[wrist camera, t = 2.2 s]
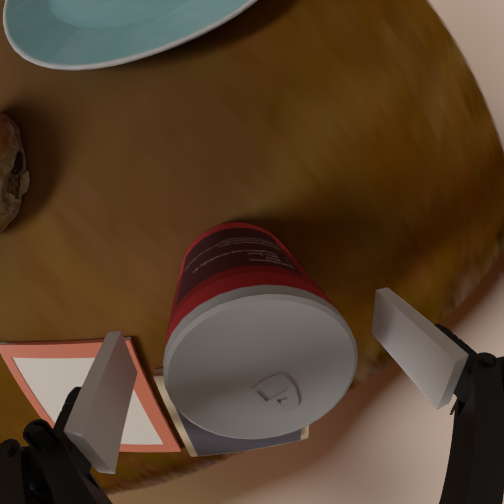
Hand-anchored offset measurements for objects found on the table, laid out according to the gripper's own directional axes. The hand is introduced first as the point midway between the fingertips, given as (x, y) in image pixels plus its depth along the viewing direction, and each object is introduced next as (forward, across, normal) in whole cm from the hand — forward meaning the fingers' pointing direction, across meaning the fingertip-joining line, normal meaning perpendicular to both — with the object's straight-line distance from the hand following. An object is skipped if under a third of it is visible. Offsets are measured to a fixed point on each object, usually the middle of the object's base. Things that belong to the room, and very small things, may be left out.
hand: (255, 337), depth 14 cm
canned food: (+7, 0, 0) cm, 7 cm away
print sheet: (+7, -17, -12) cm, 22 cm away
